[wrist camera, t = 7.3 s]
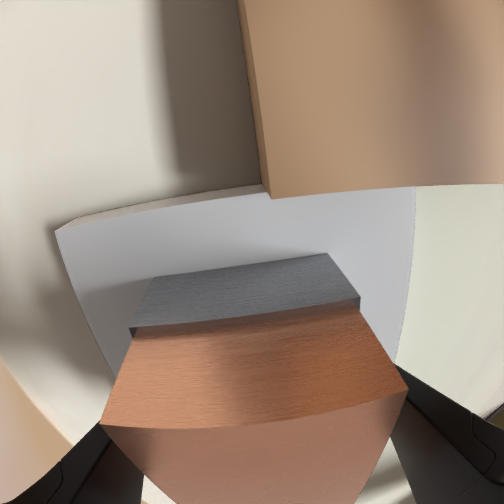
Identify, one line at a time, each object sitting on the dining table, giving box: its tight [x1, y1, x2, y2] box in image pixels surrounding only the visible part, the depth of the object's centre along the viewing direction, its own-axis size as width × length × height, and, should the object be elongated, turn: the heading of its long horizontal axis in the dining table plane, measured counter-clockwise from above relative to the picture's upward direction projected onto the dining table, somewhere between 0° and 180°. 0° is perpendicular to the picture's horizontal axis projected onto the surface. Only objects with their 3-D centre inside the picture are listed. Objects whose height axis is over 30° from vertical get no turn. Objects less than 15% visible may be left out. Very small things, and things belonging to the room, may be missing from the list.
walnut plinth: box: [236, 0, 504, 200], centre depth 6 cm, size 11×11×2 cm
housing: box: [99, 253, 409, 504], centre depth 7 cm, size 7×5×5 cm
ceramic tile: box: [54, 184, 416, 379], centre depth 10 cm, size 11×11×2 cm
